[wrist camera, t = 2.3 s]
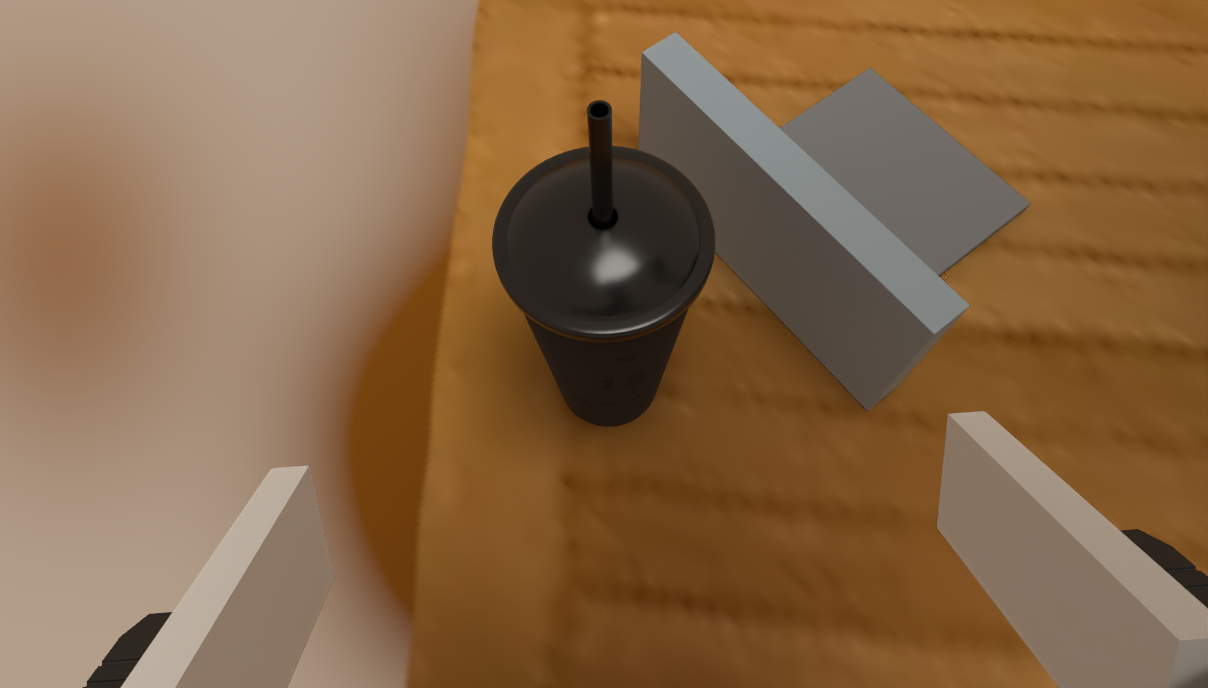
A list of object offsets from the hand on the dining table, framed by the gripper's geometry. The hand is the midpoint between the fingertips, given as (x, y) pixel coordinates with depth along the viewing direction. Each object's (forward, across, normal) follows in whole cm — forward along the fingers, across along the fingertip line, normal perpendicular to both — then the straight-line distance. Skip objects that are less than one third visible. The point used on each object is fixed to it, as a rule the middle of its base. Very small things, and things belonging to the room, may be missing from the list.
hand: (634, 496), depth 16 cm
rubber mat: (+29, +15, 0) cm, 33 cm away
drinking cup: (+22, 0, -7) cm, 23 cm away
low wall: (+26, +8, -3) cm, 27 cm away
